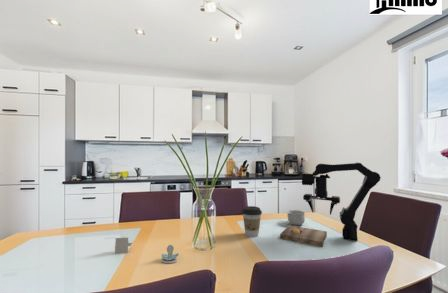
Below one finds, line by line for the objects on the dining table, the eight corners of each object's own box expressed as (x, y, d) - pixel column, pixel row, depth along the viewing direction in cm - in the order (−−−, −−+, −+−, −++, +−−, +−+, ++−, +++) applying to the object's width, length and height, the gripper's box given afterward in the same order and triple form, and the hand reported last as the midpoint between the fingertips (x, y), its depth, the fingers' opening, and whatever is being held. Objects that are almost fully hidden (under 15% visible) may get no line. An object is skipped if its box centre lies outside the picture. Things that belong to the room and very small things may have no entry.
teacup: (307, 227, 141) (307, 214, 141) (289, 226, 141) (289, 214, 141) (300, 220, 155) (300, 208, 155) (284, 220, 155) (284, 208, 155)
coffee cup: (240, 237, 123) (240, 209, 123) (243, 230, 134) (243, 205, 134) (261, 239, 120) (261, 211, 121) (262, 232, 131) (262, 206, 132)
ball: (291, 231, 128) (298, 236, 127) (290, 233, 125) (296, 238, 123) (295, 226, 127) (302, 230, 126) (294, 228, 124) (300, 233, 122)
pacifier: (177, 264, 93) (179, 257, 99) (177, 249, 93) (179, 243, 99) (159, 264, 93) (162, 257, 99) (159, 249, 93) (162, 243, 99)
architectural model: (117, 251, 106) (117, 235, 106) (132, 250, 107) (132, 234, 107) (114, 254, 103) (115, 238, 103) (130, 253, 104) (130, 237, 104)
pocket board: (326, 235, 125) (326, 231, 125) (322, 247, 110) (322, 242, 110) (288, 229, 136) (288, 225, 136) (280, 238, 121) (280, 234, 121)
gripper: (340, 185, 130) (341, 212, 129) (306, 183, 139) (307, 208, 139) (339, 187, 120) (339, 217, 120) (302, 185, 130) (303, 212, 129)
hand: (321, 213), depth 127 cm, fingers open, 9 cm apart
